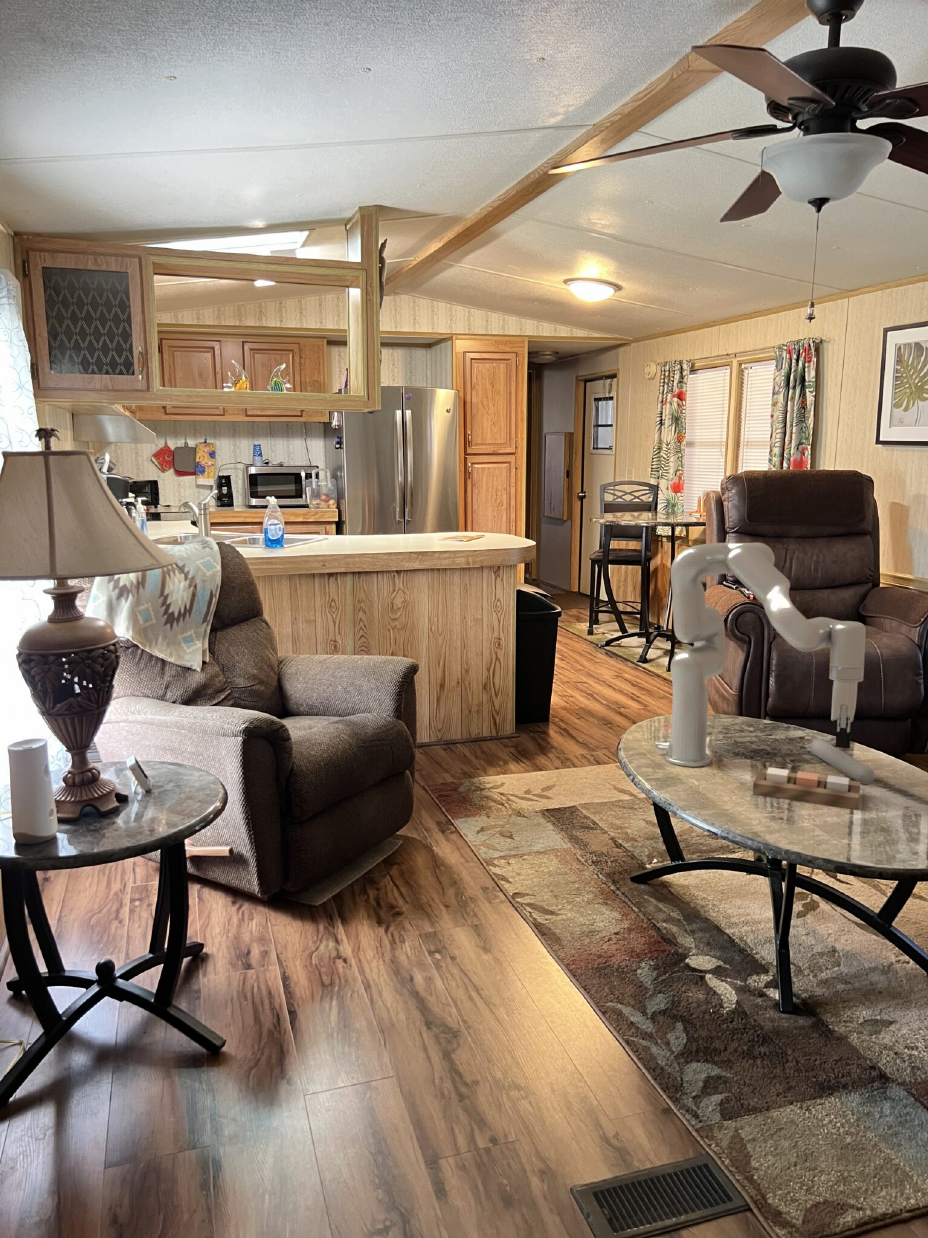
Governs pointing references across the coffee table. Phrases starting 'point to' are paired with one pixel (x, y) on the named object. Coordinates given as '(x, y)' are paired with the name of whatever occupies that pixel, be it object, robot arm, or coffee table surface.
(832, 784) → the key right
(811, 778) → the key mid
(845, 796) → the wooden tray
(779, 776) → the key left
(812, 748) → the tube
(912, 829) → the coffee table surface
